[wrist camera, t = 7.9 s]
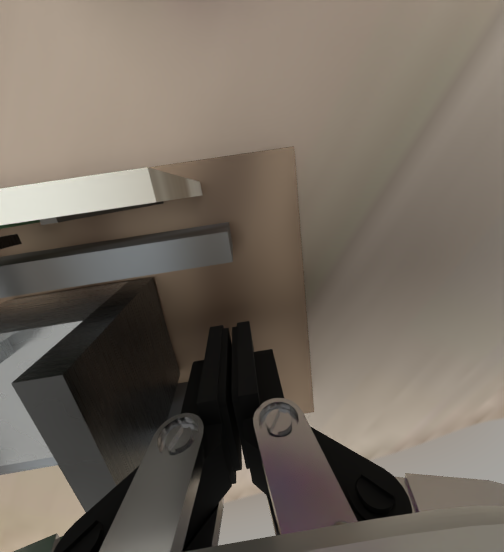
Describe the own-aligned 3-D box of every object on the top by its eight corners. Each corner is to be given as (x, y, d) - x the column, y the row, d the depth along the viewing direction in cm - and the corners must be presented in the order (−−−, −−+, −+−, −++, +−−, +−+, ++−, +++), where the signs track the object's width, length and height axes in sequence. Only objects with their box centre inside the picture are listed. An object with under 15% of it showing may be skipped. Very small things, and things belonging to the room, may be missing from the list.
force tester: (287, 151, 13) (397, 71, 4) (307, 394, 18) (374, 576, 10) (-135, 212, 12) (-971, 262, 4) (14, 444, 17) (-192, 683, 9)
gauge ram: (134, 214, 11) (0, 247, 5) (180, 373, 14) (136, 527, 8) (-25, 238, 11) (-389, 305, 5) (55, 394, 14) (-97, 569, 8)
